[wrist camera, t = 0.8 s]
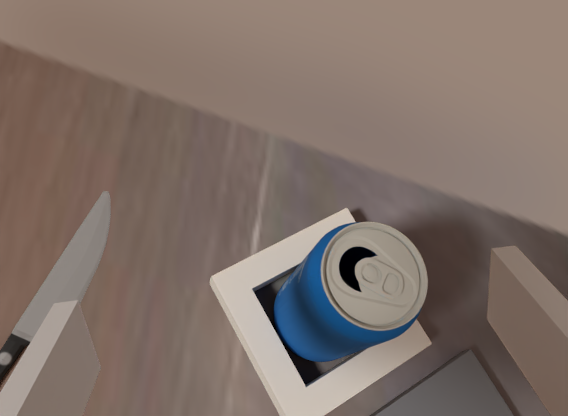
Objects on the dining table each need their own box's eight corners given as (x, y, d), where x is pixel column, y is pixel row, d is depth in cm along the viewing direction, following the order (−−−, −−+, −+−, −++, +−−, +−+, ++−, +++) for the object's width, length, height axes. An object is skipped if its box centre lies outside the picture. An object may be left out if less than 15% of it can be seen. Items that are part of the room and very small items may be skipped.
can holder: (209, 283, 36) (211, 276, 35) (339, 217, 40) (346, 207, 38) (289, 433, 34) (295, 434, 32) (419, 347, 38) (432, 343, 36)
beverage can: (295, 256, 38) (344, 192, 27) (372, 297, 38) (451, 250, 27) (255, 335, 36) (291, 299, 25) (338, 380, 36) (411, 364, 25)
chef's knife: (149, 197, 38) (112, 179, 38) (149, 191, 37) (111, 172, 37) (-9, 464, 30) (-57, 443, 30) (-14, 466, 29) (-64, 444, 29)
